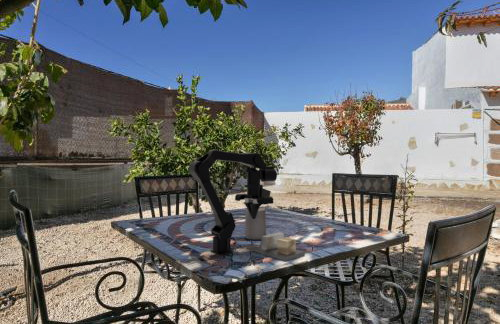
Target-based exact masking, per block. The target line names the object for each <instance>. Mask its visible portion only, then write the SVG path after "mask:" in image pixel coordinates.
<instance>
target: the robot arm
mask: <svg viewBox="0 0 500 324" xmlns="http://www.w3.org/2000/svg"><path fill="white" fill-rule="evenodd" d="M217 161H223V162H234V163H239V164H241V165H244V166H245V167H244V168H243V169H241V171H242V172H243V173H246V184H244V188H246V193H245V192H244V193H243V192H242V193H236V194H235V196H234V201H236V202H239V201H240V202H241V201H243V200H244V202H243V204H244V206H245V207H246V208H247V209H248V211H249V213H250V215H251V217H252V219H255V218H256V215H257V212H258V209H259V207H261V206H262V205H271V204H274V198H273V196H271V190H268V189H267V188H264V187H263V184H261V182H263V183H267V182H268V183H269V182H275V181H276V180H277V178H278V173H277V171H276V169H275V166H274V165H268V166H267V165H266V163H265V161H264V160H263V157H262V155H261V153H259V152H250V153H249V152H247V153H237V152H230V151H224V150H218V149H210V150H208V151H207V153H205V154H204V155H202V156H201V157H199V158H198V159H196V160H193V161H192V162H190V163H189V165H188V172H189V174H190V175H191V176H192V178H193V179H194V180H195V181H196V183H198V184H199V186H200V188H201V190H202V192H203V194H204V196H205V198H206V200H207V202H208V205H209V206H210V208H211V210H212V212H213V215H214V216H213V217H214V218H213V219H214V223H215V225H214V226H213V227H212V228H211V229H210V234H211V236H212V249H210V252H212V253H214V254H215V253H216V254H218V255H223V254H227V253H232V252H233V250H232V249H231V238H232V236H233V232H234V231H235V229H236V222H237V221H236V220H235V218H234V216H233V213H232V212H229V211H226V210H225V208H224V206H223V204H222V201H221V200H220V197H219V196H218V194H217V192H216V190H215V187H214V185H213V183H212V181H211V172H210V169H211V167H213V165H214V164H215V163H216V162H217Z"/></svg>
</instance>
